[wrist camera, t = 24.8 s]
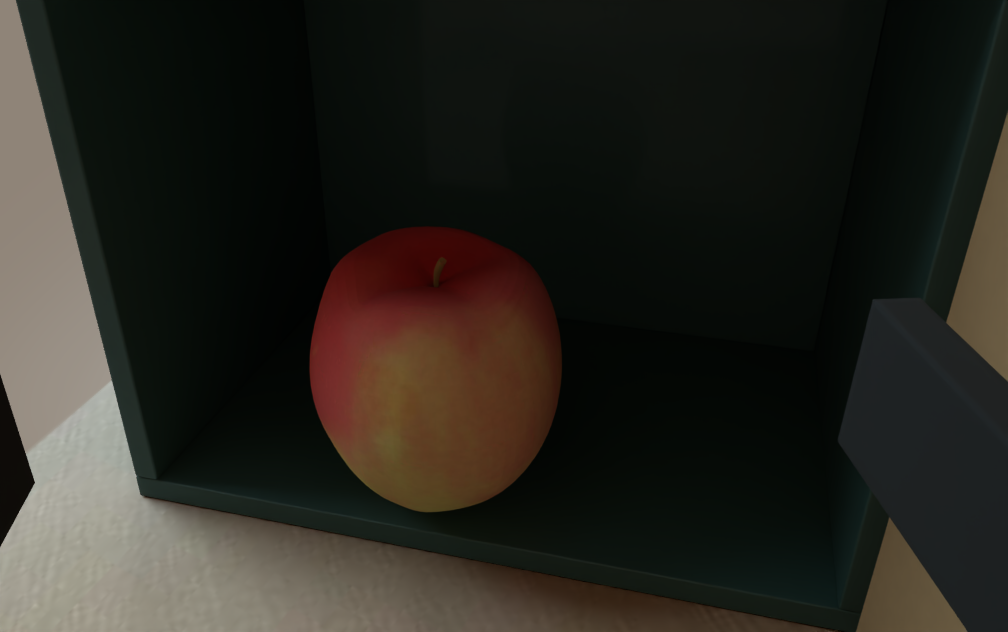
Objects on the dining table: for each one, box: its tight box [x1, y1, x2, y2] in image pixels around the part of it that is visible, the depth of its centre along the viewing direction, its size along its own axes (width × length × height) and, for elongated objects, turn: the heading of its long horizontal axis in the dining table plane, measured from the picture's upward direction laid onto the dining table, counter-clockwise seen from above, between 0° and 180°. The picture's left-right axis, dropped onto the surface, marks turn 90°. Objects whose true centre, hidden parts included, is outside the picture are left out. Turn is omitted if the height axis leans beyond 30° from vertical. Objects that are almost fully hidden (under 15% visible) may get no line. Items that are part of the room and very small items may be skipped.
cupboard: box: [16, 0, 1008, 632], centre depth 35 cm, size 18×28×24 cm, turn 76°
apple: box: [310, 226, 562, 512], centre depth 33 cm, size 10×10×10 cm
